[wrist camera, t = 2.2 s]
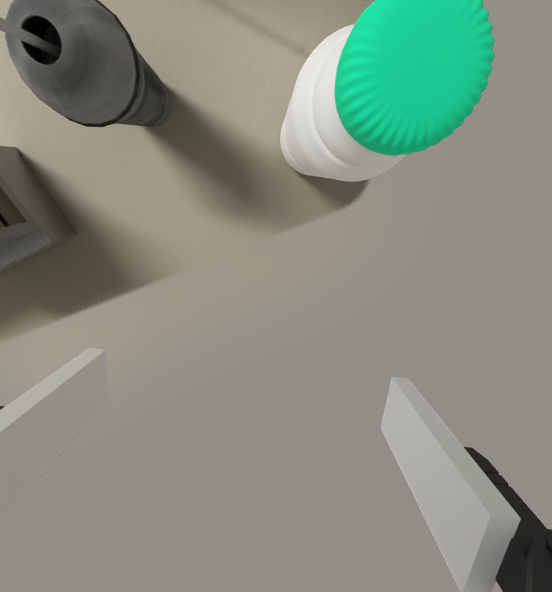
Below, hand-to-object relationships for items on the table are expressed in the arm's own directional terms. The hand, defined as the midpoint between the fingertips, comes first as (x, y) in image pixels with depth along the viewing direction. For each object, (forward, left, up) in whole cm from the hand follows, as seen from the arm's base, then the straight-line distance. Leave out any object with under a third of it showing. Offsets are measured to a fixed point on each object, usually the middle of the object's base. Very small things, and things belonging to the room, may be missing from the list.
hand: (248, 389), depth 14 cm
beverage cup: (-19, -4, -25) cm, 31 cm away
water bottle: (-9, +10, -25) cm, 28 cm away
